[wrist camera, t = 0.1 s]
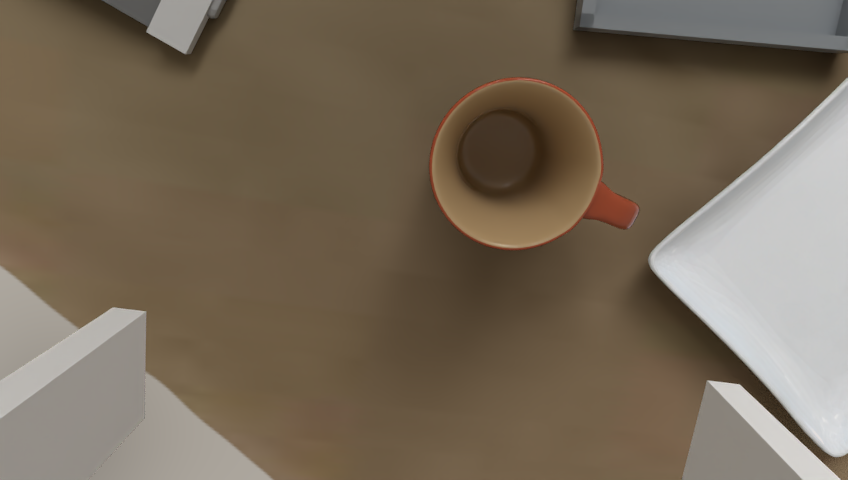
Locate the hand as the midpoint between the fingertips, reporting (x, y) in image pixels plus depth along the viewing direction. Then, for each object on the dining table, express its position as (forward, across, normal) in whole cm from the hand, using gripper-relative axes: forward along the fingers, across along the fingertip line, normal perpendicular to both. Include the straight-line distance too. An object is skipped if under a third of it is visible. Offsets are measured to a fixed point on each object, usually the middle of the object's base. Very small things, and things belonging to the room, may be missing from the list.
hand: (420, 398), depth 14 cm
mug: (+28, +6, +4) cm, 29 cm away
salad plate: (+28, +29, 0) cm, 40 cm away
